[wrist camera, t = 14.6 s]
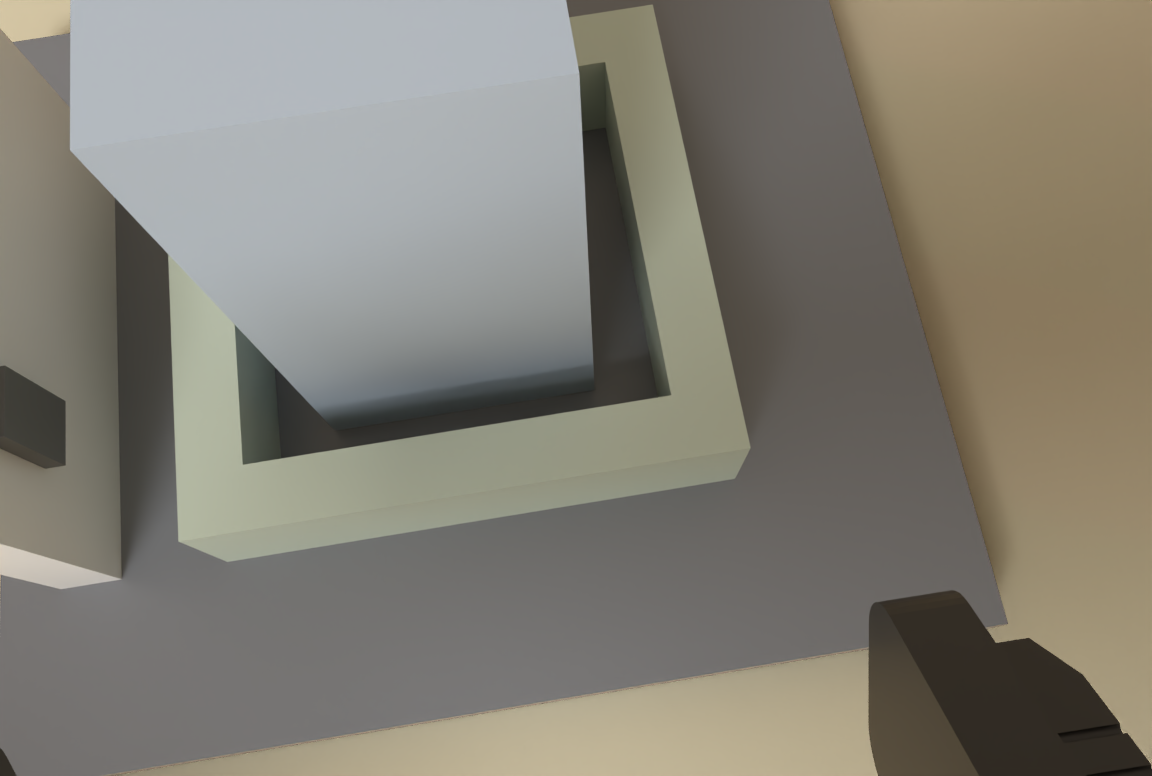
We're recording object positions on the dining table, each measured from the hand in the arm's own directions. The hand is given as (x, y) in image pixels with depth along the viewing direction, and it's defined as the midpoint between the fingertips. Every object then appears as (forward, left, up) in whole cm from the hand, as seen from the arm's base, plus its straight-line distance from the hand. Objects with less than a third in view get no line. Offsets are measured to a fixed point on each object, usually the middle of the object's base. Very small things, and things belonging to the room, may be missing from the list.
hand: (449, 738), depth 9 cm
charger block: (0, -7, -7) cm, 10 cm away
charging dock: (0, -7, -8) cm, 11 cm away
